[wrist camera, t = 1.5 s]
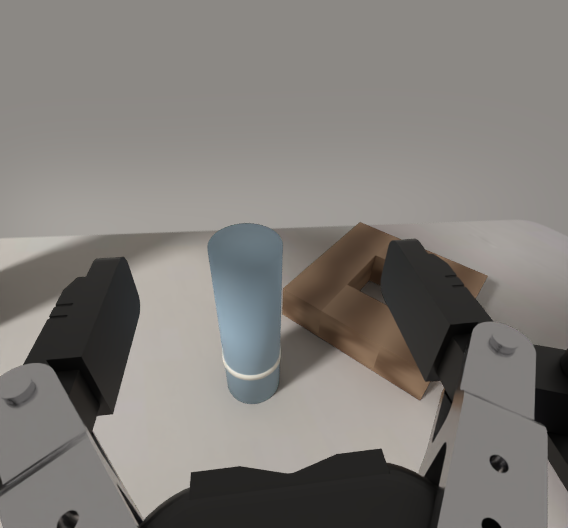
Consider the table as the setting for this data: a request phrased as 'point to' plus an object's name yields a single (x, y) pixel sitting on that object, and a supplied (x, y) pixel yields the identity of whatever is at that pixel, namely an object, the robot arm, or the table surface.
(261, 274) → the peg
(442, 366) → the robot arm
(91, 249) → the table surface
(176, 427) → the table surface
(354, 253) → the socket block
